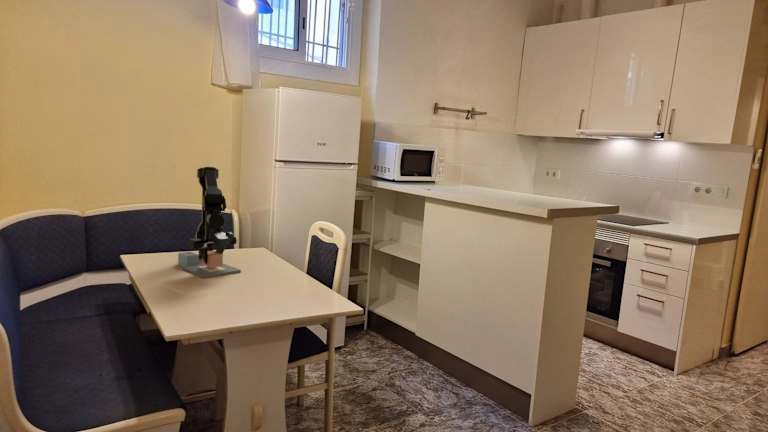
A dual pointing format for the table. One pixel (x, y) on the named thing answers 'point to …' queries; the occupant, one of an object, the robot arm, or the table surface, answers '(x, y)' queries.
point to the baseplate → (211, 270)
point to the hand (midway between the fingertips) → (212, 262)
